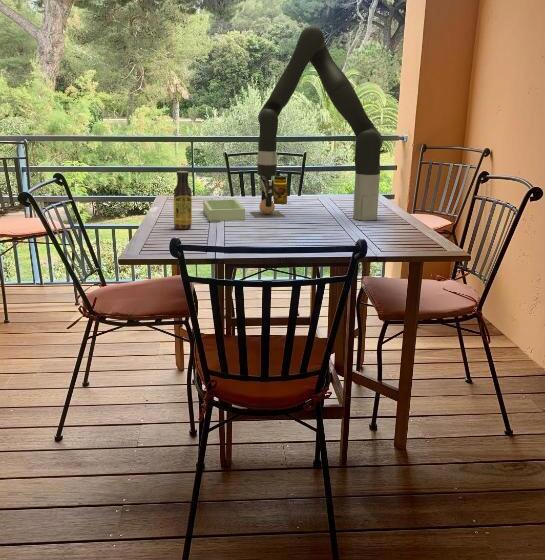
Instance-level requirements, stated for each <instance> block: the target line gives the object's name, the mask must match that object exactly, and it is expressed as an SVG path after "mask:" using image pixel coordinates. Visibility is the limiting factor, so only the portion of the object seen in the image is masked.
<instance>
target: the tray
mask: <svg viewBox="0 0 545 560" xmlns="http://www.w3.org/2000/svg"><path fill="white" fill-rule="evenodd" d="M202 209H203V210H202V211H203V213H204V215H205V217H206V219H207V220H208V222H209V223H221V222H227V221H246V208H245V207H244V206H243V205H242V204H241V203H240V202H239V200H237V199H235V198H234V199H233V198H230V199H228V198H226V199H204V200H202Z"/></svg>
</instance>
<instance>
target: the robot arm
mask: <svg viewBox="0 0 545 560" xmlns="http://www.w3.org/2000/svg"><path fill="white" fill-rule="evenodd" d="M309 63H310V64H311V66H312V67H313V68H314V70H315V71H316V74H317V75H318V78H319V79H320V82H321V84H322V86H323V89H324V90H325V92H326V95H327V96H328V98H329V100H330V101H331V103H332V105H333V106H334V108H335V109H336V110H337V112H338V113H339V114H340V115H341V116H342V118H343V119H344V120H345V122H347V124H348V125H349V126H350V128H351V130H352V133H354V135H355V138H356V140H355V148H354V149H355V150H354V168H355V170H354V171H355V173H354V174H355V175H354V176H355V177H354V192H353V210H352V211H353V212H352V219H354V220H358V221H366V222H367V221H377V220H378V212H379V211H378V210H379V195H380V178H381V161H380V160H381V149H382V147H383V145H384V139H383V136H382V134H381V133H380V131H379V130H378V129H377V128H376V126H375V125H374V123H373V122H372V120H371V119H370V118H369V116H368V114H367V112H366V111H365V108H364V106H363V104H362V102H361V100H360V98H359V96H358V94H357V92H356V90H355V88H354V87H353V85H352V84H351V82H350V80H349V78H348V76H346V74H345V73H344V72H343V71H342V69H341V68H340V67H339V66H338V64H337V63H336V62H335V60H333V57H332V55H331V53H330V51H329V49H328V47H327V45H326V42H325V35H324V33H323V31H322V30H321V29H320V28H319V27H318V26H314V25H311V26H308V27H305V28H304V29H303V30H302V31H301V33H300V35H299V37H298V41H297V43H296V46H295V49H294V51H293V54H292V55H291V58H290V59H289V62H288V63H287V65H286V67H285V69H284V70H283V72H282V74H281V76H280V78H279V79H278V81H277V82H276V84H275V86H274V87H273V89H272V92H271V93H270V96H269V97H268V99H267V100H266V102H265V103H264V105H263V106H262V107H261V110H260V111H259V113H258V115H257V122H258V123H259V137H258V141H257V146H258V147H257V158H256V159H257V163H256V166H257V169H256V172H257V175H258V176H259V178H260V180H259V181H260V182H259V185H260V186H259V191H260V195H261V200H260V202H261V201H263V200H264V199H266V207H271V206H272V201H273V200H272V199H273V195H274V179H273V180H272V177H275V176H277V174H278V172H277V170H278V154H277V143H278V142H277V135H278V129H279V127H278V126H279V115H280V113H281V112H282V110H283V109H284V108H285V107H286V106H287V104H288V103H289V101H290V99H291V98H292V96H293V95H294V93H295V90H296V88H297V87H298V85H299V82H300V80H301V78H302V75H303V73H304V71H305V69H306V67H307V66H308V64H309Z"/></svg>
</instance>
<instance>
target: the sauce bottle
mask: <svg viewBox="0 0 545 560" xmlns="http://www.w3.org/2000/svg"><path fill="white" fill-rule="evenodd" d="M189 175H190V173H189V171H186V170H179V171H178V170H177V171H176V179H177V182H176V186H175V188H174V190H173V227H174V229H176V230H188V229H191V228H192V222H193V221H192V219H193V218H192V217H193V216H192V212H193V211H192V209H193V207H192V204H193V200H192V199H193V198H192V189H191V187H190V185H189Z"/></svg>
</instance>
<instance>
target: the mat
mask: <svg viewBox="0 0 545 560" xmlns="http://www.w3.org/2000/svg"><path fill="white" fill-rule="evenodd" d="M249 213H250V215H252V216H253V218H255V219H258V218H260V219H261V218H262V219H263V218H285V217H286V216H285V214H283V213H281V211H279V210H274V211H273V212H272V213H271V214H263V213H262V212H261V211H249Z"/></svg>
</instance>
